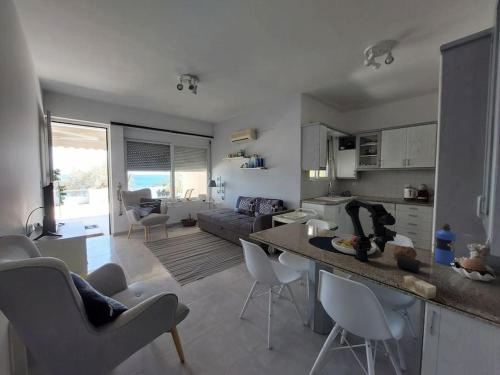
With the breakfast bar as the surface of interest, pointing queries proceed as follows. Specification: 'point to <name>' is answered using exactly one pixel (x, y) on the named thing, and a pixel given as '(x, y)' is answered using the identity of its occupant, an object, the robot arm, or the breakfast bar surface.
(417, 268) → the end cap
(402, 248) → the decorative rock
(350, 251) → the bowl
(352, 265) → the breakfast bar surface
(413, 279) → the beech block
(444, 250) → the water bottle
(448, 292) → the breakfast bar surface
